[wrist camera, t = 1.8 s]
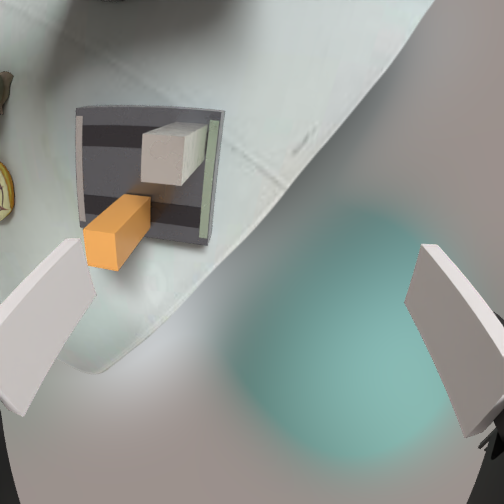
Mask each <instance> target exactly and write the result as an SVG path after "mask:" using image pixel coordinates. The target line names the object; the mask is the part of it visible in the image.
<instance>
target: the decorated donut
mask: <svg viewBox="0 0 504 504" xmlns="http://www.w3.org/2000/svg"><path fill="white" fill-rule="evenodd" d="M13 207H14V190H13V182H12V178H11V175H10V173H9V171H8V170H7V168H6V167H5V165H3V164H2V163H1V162H0V221H1V220H3V219H4V218H5V217H6V216H7V215H8V214H10V212H11V211H12V208H13Z"/></svg>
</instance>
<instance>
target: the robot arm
mask: <svg viewBox="0 0 504 504" xmlns="http://www.w3.org/2000/svg"><path fill="white" fill-rule="evenodd" d="M102 1H109V2H116V1H124V0H102ZM96 295H97V294H96V291H95V288H94V285H93V282H92V279H91V275H90V272H89V268H88V265H87V262H86V258H85V254H84V251H83V247H82V243H81V239H80V238H66V239H65V240H64V241H63V242H62V243H61V244H60V245H58V246H57V247H56V248H55V249H54V250H53V251H52V252H51V253H50V254H49V255H48V256H47V257H46V258H45V259H44V260H43V261H42V262H41V263H40V264H39V265H38V266H37V267H36V268H35V269H34V270H33V271H32V272H31V273H30V274H29V275H28V276H27V277H26V278H25V279H24V280H23V281H22V282H21V283H20V284H19V285H18V286H17V287H16V288H15V290H14V291H13V292H12V293H11V294H10V295H9V296H8V297H7V298H6V299H5V300H4V302H3V303H2V304H1V305H0V400H1V402H2V403H3V404H4V405H5V406H6V408H7V409H8V410H10V411H12V412H14V413H16V414H18V415H20V416H23V417H24V415H25V413H26V411H27V409H28V407H29V406H30V404H31V402H32V400H33V398H34V396H35V394H36V392H37V391H38V389H39V387H40V385H41V383H42V382H43V380H44V378H45V376H46V374H47V373H48V371H49V369H50V368H51V366H52V364H53V362H54V361H55V359H56V357H57V356H58V354H59V353H60V351H61V349H62V348H63V346H64V344H65V343H66V341H67V340H68V338H69V336H70V335H71V333H72V332H73V330H74V328H75V327H76V325H77V324H78V322H79V321H80V319H81V318H82V316H83V315H84V313H85V312H86V310H87V309H88V307H89V306H90V304H91V303H92V301H93V300H94V298H95V297H96ZM404 303H405V305H406V307H407V309H408V311H409V313H410V315H411V317H412V319H413V321H414V323H415V325H416V326H417V328H418V330H419V332H420V334H421V337H422V339H423V341H424V343H425V345H426V347H427V349H428V351H429V353H430V355H431V357H432V360H433V362H434V364H435V366H436V368H437V370H438V373H439V375H440V377H441V380H442V382H443V384H444V387H445V389H446V391H447V394H448V396H449V398H450V401H451V404H452V406H453V409H454V411H455V414H456V416H457V419H458V422H459V424H460V427H461V430H462V432H463V435H464V438H467V437H470V436H473V435H476V434H479V433H482V432H483V431H484V430H485V429H486V428H487V427H488V426H489V425H490V424H491V423H492V422H493V421H494V423H495V426H496V428H495V429H494V430H493V431H492V432H491V433H490V434H489V435H488V436H487V437H486V438H485V439H484V440H483V441H482V442H481V443H480V445H479V447H478V448H479V449H481V448H482V447H483V446H484V445H485V444H486V443H487V442H488V441H489V443H488V447H486V448H485V449H484V451H486V453H485V456H484V459H483V462H482V465H481V468H480V471H479V474H478V477H477V479H476V482H475V485H474V487H473V490H472V492H471V495H470V497H469V499H468V502H467V504H504V320H503V319H502V318H501V317H500V316H499V315H497V314H496V313H495V312H492V310H491V309H490V307H489V306H488V305H487V303H486V302H485V301H484V300H483V298H482V297H481V296H480V294H479V293H478V292H477V291H476V289H475V288H474V287H473V286H472V284H471V283H470V282H469V281H468V280H467V278H466V277H465V276H464V275H463V274H462V273H461V271H460V270H459V269H458V268H457V266H456V265H455V264H454V263H453V262H452V261H451V260H450V259H449V257H448V256H447V255H446V254H445V253H444V252H443V251H442V249H441V248H440V247H439V246H438V245H435V244H421V247H420V251H419V254H418V258H417V262H416V265H415V269H414V273H413V276H412V279H411V283H410V286H409V289H408V292H407V295H406V298H405V301H404ZM0 504H20V501H19V498H18V494H17V491H16V487H15V483H14V480H13V476H12V472H11V467H10V463H9V458H8V453H7V449H6V443H5V437H4V431H3V424H2V416H1V411H0Z"/></svg>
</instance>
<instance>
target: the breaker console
mask: <svg viewBox="0 0 504 504" xmlns="http://www.w3.org/2000/svg"><path fill="white" fill-rule="evenodd" d="M224 116H225V111H223V110H213V109H202V108H189V107H173V106H147V105H104V106H86V107H80V108H76V180H77V197H78V209H79V220H80V227H82V228H85V227H86V226H87V225H88V224H89V223H91V222H92V221H93V220H94V219H95V218H96V217H97V216H99V215H100V214H101V213H102V212H103V211H104V210H106V209H107V208H108V207H109V206H110V205H111V204H113V203H114V202H115V201H116V200H118V199H119V198H120V197H121V196H122V195H124V194H128V195H138V196H147V197H151V210H150V229H149V230H148V232H147V233H146V234H145V235H144V236H145V237H152V238H159V239H166V240H172V241H179V242H186V243H193V244H200V245H207V246H208V243H209V240H210V237H211V233H212V222H213V212H214V202H215V192H216V183H217V174H218V165H219V156H220V148H221V139H222V131H223V123H224Z"/></svg>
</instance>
